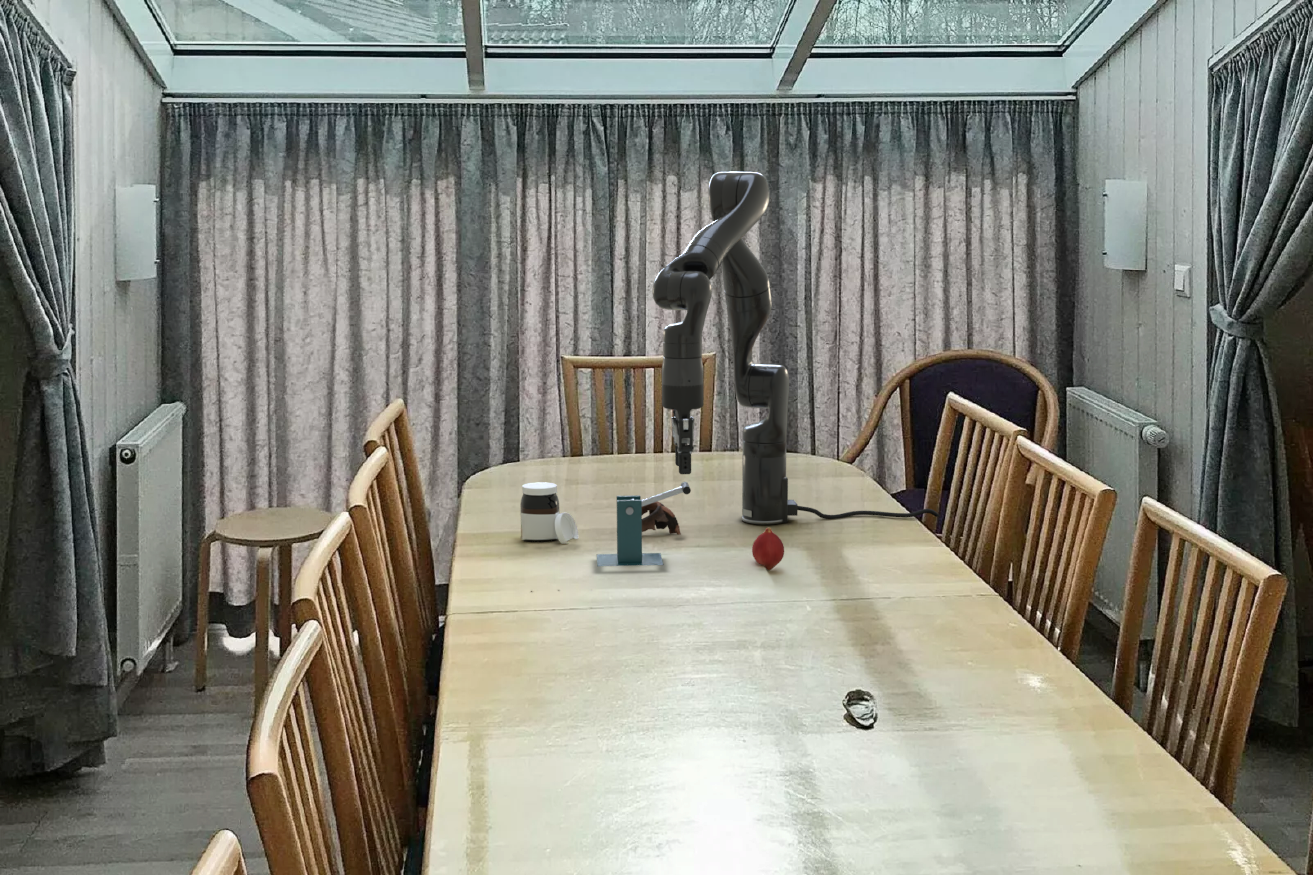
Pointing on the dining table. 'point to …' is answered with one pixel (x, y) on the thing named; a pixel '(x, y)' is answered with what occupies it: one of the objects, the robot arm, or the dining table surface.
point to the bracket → (629, 537)
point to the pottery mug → (659, 518)
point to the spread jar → (544, 515)
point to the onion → (768, 549)
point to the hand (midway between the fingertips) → (683, 469)
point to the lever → (667, 494)
